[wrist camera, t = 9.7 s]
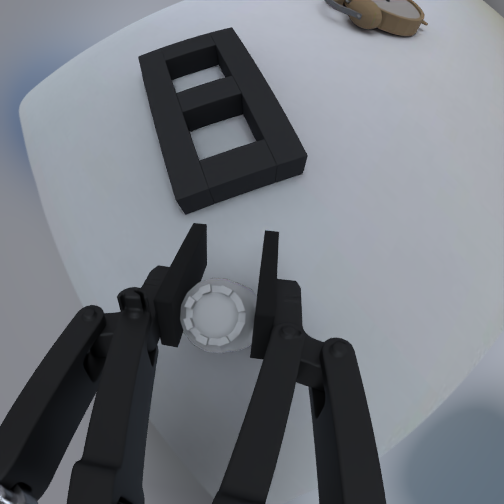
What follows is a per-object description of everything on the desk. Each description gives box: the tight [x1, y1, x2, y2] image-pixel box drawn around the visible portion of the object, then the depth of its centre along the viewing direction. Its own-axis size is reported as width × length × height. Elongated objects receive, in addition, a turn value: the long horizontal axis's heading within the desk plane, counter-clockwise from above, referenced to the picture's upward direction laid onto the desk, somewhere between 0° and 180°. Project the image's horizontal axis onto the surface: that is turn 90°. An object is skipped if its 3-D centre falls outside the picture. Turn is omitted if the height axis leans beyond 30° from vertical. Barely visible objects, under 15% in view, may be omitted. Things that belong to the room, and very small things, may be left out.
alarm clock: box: [325, 0, 428, 36], centre depth 29 cm, size 11×5×15 cm
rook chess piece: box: [180, 278, 257, 353], centre depth 16 cm, size 4×4×8 cm
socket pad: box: [138, 27, 307, 214], centre depth 25 cm, size 10×18×3 cm, turn 20°
